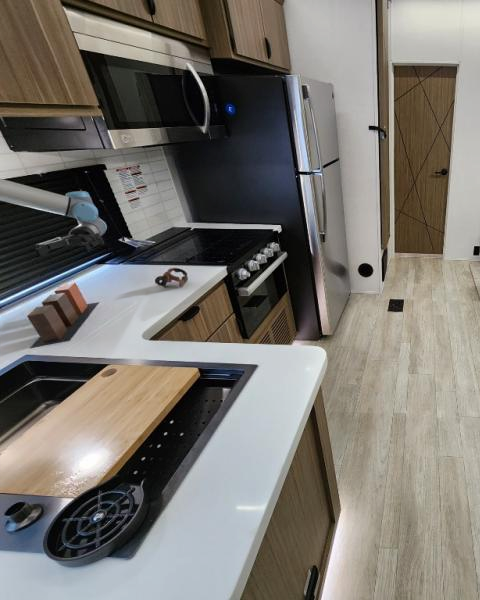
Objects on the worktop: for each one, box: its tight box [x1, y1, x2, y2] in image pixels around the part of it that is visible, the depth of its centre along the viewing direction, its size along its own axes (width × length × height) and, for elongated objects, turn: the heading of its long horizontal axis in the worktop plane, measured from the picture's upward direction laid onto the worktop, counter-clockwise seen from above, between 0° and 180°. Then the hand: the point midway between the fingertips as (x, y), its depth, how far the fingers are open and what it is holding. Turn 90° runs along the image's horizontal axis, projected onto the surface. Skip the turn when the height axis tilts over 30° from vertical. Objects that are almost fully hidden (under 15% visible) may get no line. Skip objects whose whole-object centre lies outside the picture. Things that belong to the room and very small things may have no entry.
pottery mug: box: [154, 267, 189, 288], centre depth 140 cm, size 12×10×8 cm
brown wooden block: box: [41, 293, 79, 327], centre depth 113 cm, size 4×6×10 cm
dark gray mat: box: [29, 301, 100, 349], centre depth 115 cm, size 28×10×1 cm, turn 23°
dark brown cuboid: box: [26, 305, 68, 343], centre depth 105 cm, size 4×6×10 cm
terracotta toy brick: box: [54, 282, 88, 314], centre depth 120 cm, size 4×6×10 cm
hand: (62, 250), depth 121 cm, fingers open, 13 cm apart
